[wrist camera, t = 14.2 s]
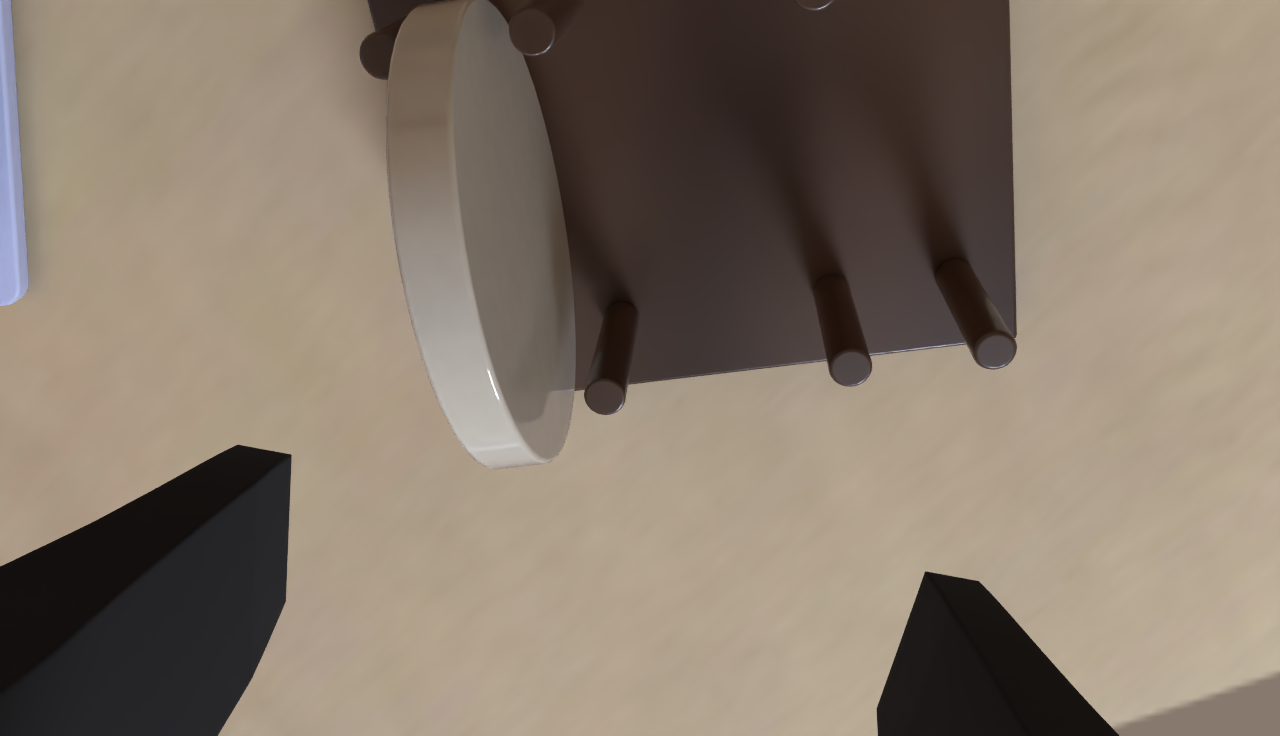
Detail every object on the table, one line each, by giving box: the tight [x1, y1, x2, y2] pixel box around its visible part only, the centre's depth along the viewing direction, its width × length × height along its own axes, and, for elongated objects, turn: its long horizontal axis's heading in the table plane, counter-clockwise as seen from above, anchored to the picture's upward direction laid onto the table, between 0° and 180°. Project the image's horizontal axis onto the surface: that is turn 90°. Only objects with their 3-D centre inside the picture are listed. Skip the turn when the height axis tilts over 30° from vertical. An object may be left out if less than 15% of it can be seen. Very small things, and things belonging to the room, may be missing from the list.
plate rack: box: [360, 0, 1017, 415], centre depth 19 cm, size 11×9×4 cm
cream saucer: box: [386, 0, 576, 469], centre depth 17 cm, size 1×7×7 cm, turn 10°
